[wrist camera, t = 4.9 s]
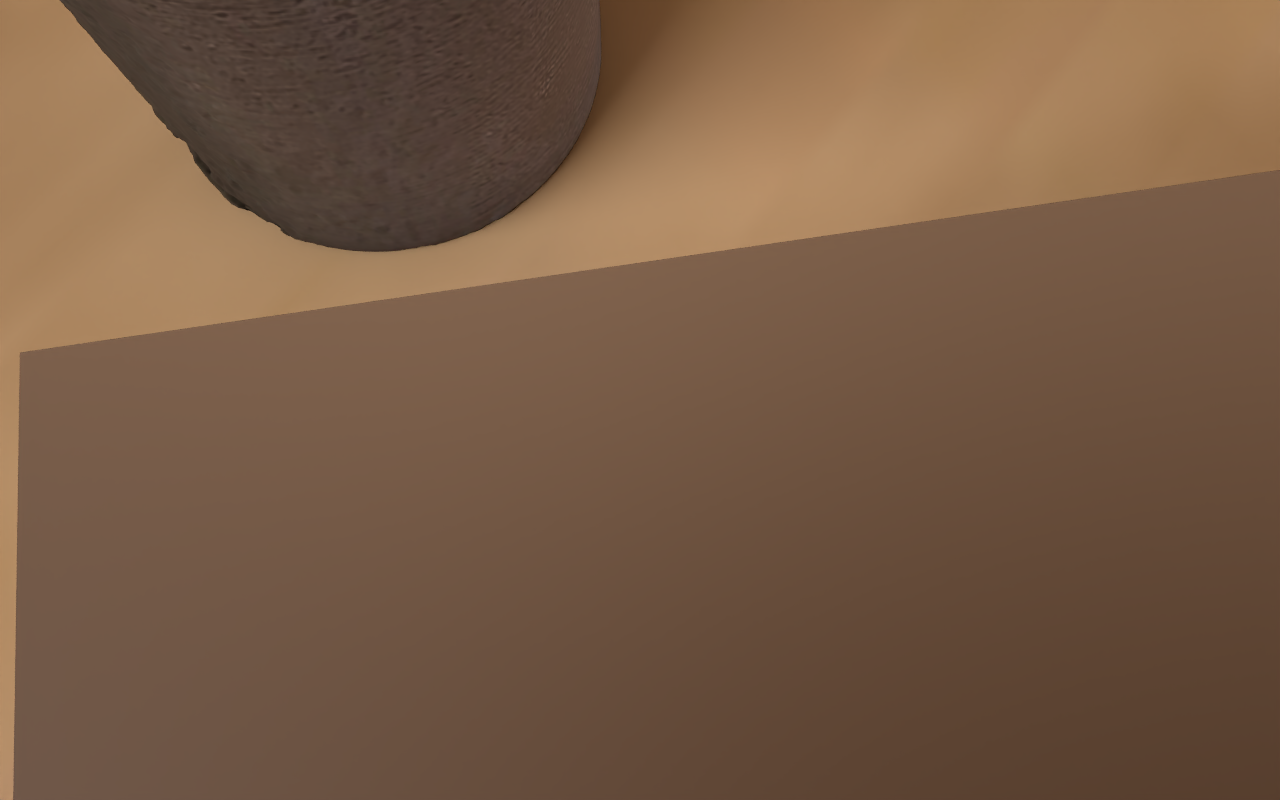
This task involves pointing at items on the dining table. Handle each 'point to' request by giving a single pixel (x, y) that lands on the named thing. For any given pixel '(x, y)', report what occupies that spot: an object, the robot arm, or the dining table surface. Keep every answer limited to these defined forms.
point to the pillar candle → (363, 104)
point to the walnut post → (684, 528)
